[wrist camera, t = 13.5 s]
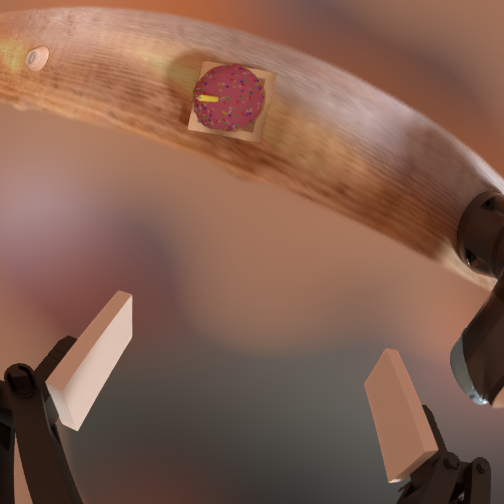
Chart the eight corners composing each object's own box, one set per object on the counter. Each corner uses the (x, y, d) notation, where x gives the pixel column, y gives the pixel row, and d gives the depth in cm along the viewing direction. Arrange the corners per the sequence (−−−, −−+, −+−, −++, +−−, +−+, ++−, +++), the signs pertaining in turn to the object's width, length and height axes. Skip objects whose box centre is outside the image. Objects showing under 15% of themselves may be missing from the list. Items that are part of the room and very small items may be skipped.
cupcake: (217, 143, 38) (195, 147, 27) (191, 89, 35) (159, 74, 24) (276, 116, 36) (278, 108, 25) (249, 61, 34) (239, 34, 23)
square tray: (276, 76, 37) (276, 73, 34) (260, 142, 40) (259, 143, 38) (206, 64, 36) (202, 60, 34) (192, 129, 40) (187, 129, 38)
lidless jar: (53, 58, 35) (45, 42, 34) (43, 56, 33) (36, 39, 31) (36, 76, 37) (29, 60, 35) (26, 75, 34) (19, 59, 32)
